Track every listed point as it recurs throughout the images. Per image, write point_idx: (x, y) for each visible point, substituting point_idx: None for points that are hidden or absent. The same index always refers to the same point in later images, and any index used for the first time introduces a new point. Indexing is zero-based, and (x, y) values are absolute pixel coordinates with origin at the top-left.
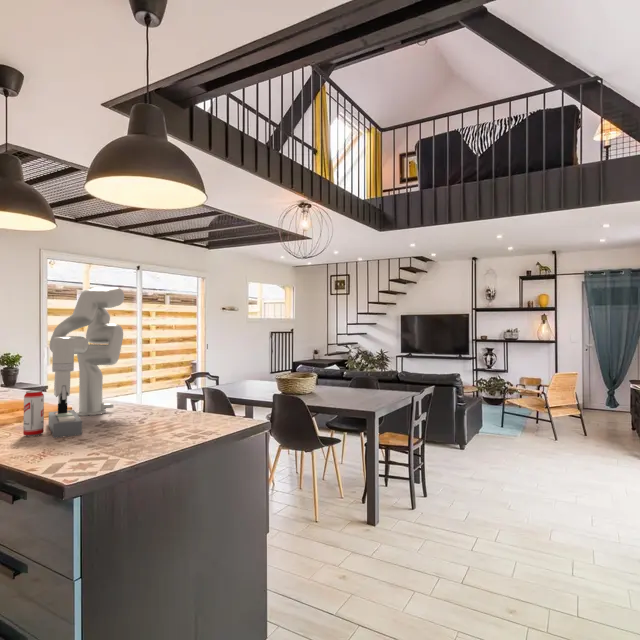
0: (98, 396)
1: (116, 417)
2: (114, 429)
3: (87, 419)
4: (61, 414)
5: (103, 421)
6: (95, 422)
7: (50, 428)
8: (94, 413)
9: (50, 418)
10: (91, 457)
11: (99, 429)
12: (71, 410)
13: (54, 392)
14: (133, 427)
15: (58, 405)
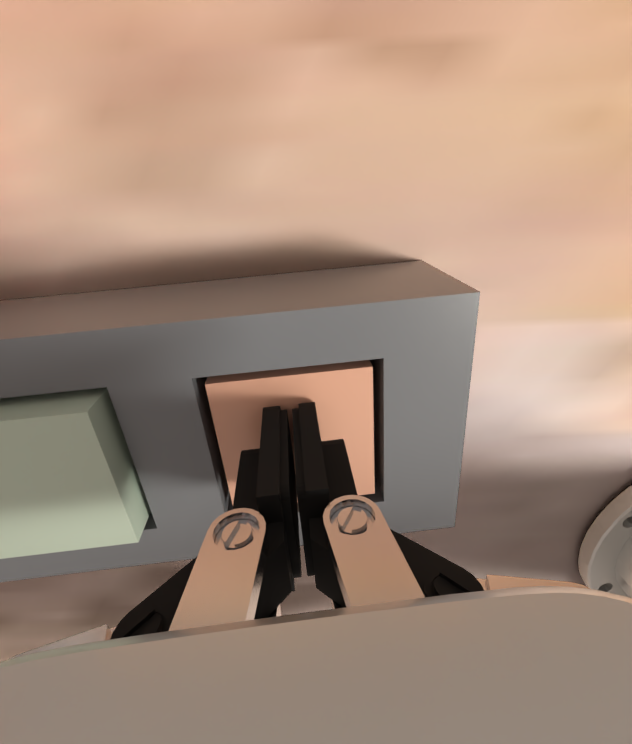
0: None
1: None
2: (7, 647)
3: (457, 520)
4: (17, 465)
5: (316, 596)
6: (305, 562)
7: (118, 292)
8: (586, 564)
9: (96, 322)
10: None
11: (30, 588)
12: (429, 511)
13: (372, 724)
14: None
15: (260, 483)
